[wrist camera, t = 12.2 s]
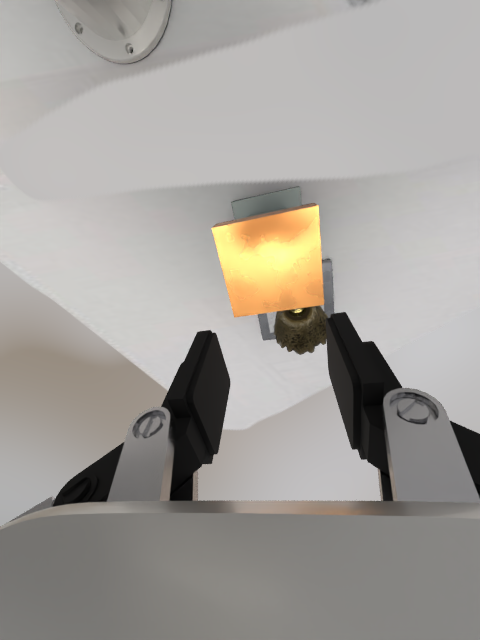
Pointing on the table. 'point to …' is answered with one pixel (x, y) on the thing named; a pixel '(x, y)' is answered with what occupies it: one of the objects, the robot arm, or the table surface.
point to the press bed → (269, 318)
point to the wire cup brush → (301, 329)
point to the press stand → (267, 203)
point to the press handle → (272, 260)
